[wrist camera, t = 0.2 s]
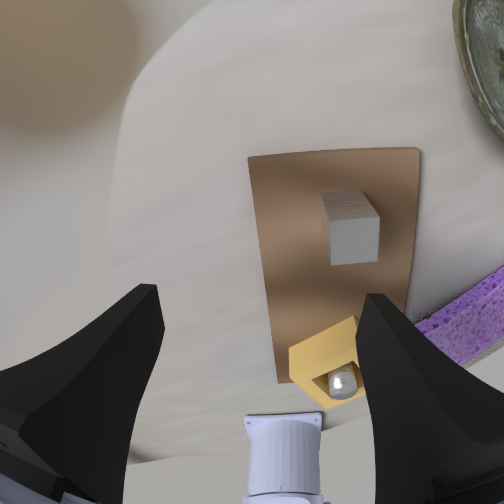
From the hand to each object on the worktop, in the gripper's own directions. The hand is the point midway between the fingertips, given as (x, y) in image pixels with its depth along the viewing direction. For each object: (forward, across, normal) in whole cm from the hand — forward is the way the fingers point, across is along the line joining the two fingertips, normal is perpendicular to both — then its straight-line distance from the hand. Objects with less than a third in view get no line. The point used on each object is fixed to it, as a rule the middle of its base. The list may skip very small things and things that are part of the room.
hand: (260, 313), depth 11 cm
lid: (+10, -14, -11) cm, 21 cm away
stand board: (+10, -5, +6) cm, 12 cm away
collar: (+9, -6, +12) cm, 16 cm away
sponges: (+10, -17, +9) cm, 21 cm away
